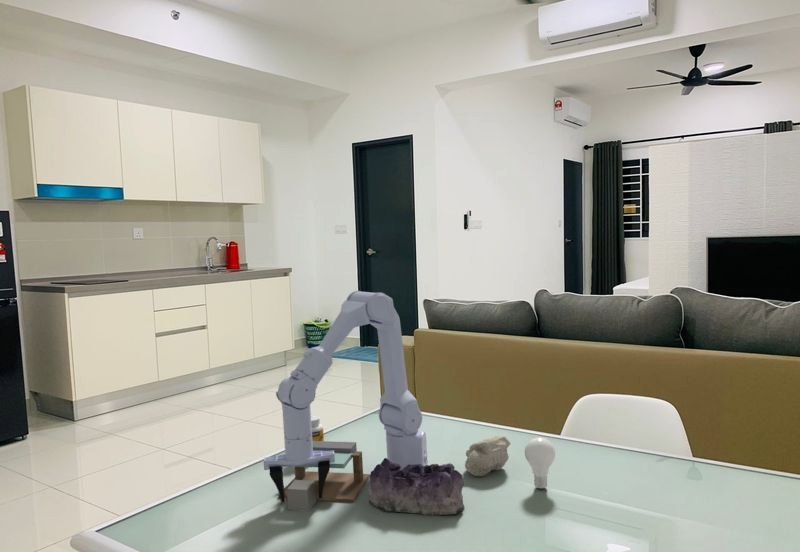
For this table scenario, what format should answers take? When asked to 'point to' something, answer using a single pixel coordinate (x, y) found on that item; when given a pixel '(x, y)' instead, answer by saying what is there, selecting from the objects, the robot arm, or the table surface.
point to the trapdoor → (335, 452)
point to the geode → (416, 488)
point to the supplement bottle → (317, 429)
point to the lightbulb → (540, 459)
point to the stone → (301, 495)
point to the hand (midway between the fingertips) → (301, 498)
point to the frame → (336, 482)
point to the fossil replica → (487, 455)
